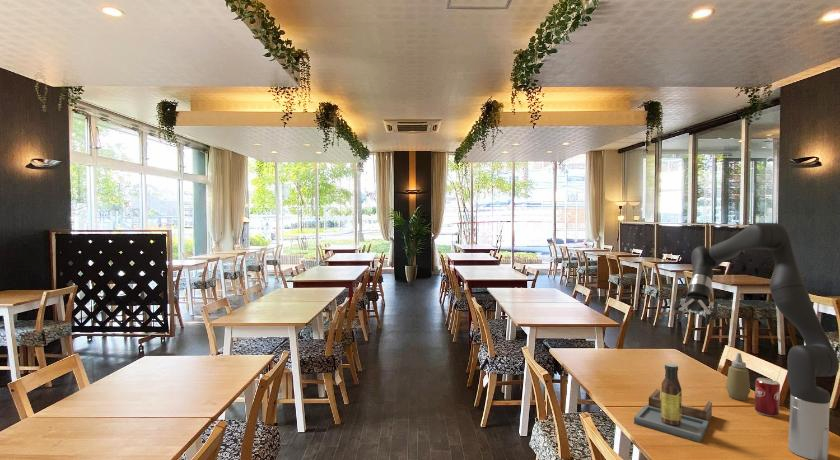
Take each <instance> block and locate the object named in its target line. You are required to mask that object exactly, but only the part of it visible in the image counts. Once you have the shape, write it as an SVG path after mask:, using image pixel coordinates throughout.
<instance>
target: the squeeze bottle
mask: <svg viewBox="0 0 840 460" xmlns="http://www.w3.org/2000/svg"><path fill="white" fill-rule="evenodd" d="M746 367H747V364H746V362H744V361H743V356H742V354H741V352H737V353H736V356H735V360H732V361H731V365H730V366H728V371H727V377H726V382H725V383H726V384H725V388H726V392H727V394H728V397H729V398H732V399H734V400H738V401H746V400H747V399H748V397H749V395H750V392H751V385H750V375H749V369H748V368H746Z"/></svg>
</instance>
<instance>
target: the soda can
mask: <svg viewBox="0 0 840 460" xmlns="http://www.w3.org/2000/svg"><path fill="white" fill-rule="evenodd" d="M754 382H755V383H754V384H755V385H754V387H755V389H754V411H755V412H756V413H758V414H759V415H763V416H767V417H777V416H779V415H780V397H781V395H780V394H781V384H780V382H779V381H777V380H774V379H771V378H765V377H757V378H756V379H755V381H754Z"/></svg>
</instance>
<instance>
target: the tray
mask: <svg viewBox="0 0 840 460" xmlns="http://www.w3.org/2000/svg"><path fill="white" fill-rule="evenodd" d="M633 424H635V425H639V426H643V427H646V428H649V429H653V430H655V431H656V430H657V431H660V432H663V433H667V434H669V433H670V435H673V436H675V437H680V438H683V439H687V440H690V441H693V442H697V443H701V442H702V440H703V438H704V436H705V435H706V432H707V430H708V429H709V421H705V420H701V419H698V418H694V417H690V416H686V415H682V414H681V423H680V425H677V426H675V425H669V424H666V423H664V422H662V420H661V409H659V408H656V407H652V406H649V404H648V405H647V404H645V405H644V406H643V407H642V408H641V409H640V410H639V412H637V414H636V415H634V416H633Z"/></svg>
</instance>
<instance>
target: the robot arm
mask: <svg viewBox="0 0 840 460" xmlns="http://www.w3.org/2000/svg"><path fill="white" fill-rule="evenodd" d="M754 249H755V250H769V251H770V253H771V256H772V259H773V261H774V268H773V272H772V275H771V278H770V281H769V290H770V294H771V296H772V300H773V301H774V304H775V306H776V308H777V310H778V311H779V312H780V313H781V315H782V316H784V317H785V318H786V319H787V320H788V321H789V322H790V323H791V324H792V326H794V327H795V328H796V329H797V330H798V332H799V333H800V335H801V337H802V339H803V341H804V344H800V345H799V344H798V345H797V344H796V345H794V346H791V348H790V349H789V351H788V353H787V363H786V365H787V383H788V387H789V389H790V390H789V391H790V398H789V419H788V423H789V424H788V440H787V441H788V442H787V443H788V445H787V446H788V450H789V451H790V452H791V453H793V454H795V455H797V456H799V457H802V458H805V459H809V460H828V459H829V442H830V441H829V439H830V437H829V436H830V409H831V408H830V407H831V406H830V404H831V394H830V392H829V391H828V390H827V389H824V388H823V387H820V386H818V385H817V380H816V379H817V378H816V377H821V378H822V377H834V376H835V375H837V374H838V372H839V369H840V362H839V358H838V355H837V352H836V351H835V349H834V347H833V345H832V343H831V342H830V340H829V337H828V336H827V333H826V332H825V330H824V328H823V326H822V324H821V322H820V320H819V317H818V315H817V313H816V311H815V308H814V305H813V302H812V300H811V296H810V294H809V292H808V289H807V287H806V285H805V282H804V280H803V276H802V275H801V273H800V270H799V266H798V264H797V261H796V259H795V254H794V251H793V248H792V243H791V240H790V237H789V233H788V230H787V229H786V228H785V226H784V225H782V224H781V223H777V222H755V223H752V224H749V225H748V226H746V227H744V229H742V230H740V231H739V232H738V233H736V234H735V235H733V236H731V237H729V238H728V239H725V240H723V241H721V242H718V243H716V244H713V245H711V247H710V248H707V247H706V246H703V245H699V246H697V247H695V248H694V249H693V250H692V252H691V257H690V259H691V265H692V275H691V279H690V281H689V284H688V289H687V293H686V297H685V298H681V296H677V297H676V300H675V302H674V306H673V311H674V313H677V321H678V322H679V323H683V322H682V321H683V317H684V314H685V313H688V312H689V311H692V312H702V313H703V314H704V315H705V320H704V326H705V327H708V325H711V320H712V318H714V319H715V318H716V319H717V318H718V315H719V303H718V300H715V301H713V302H712V301H710V299H711V298H710V297H711V292H712V287H713V278H714V270H715V269H717V268H718V267H719V266H721V264H722V263H724V262H726V261H729V260H731V259H733V258H735V257H737V256H739V255H740V254H741V252H742V251H746V250H754ZM681 305H682V306H681ZM709 307H711V308H712V309H713V310H712V311H710V310H709V309H708V308H709Z"/></svg>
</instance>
